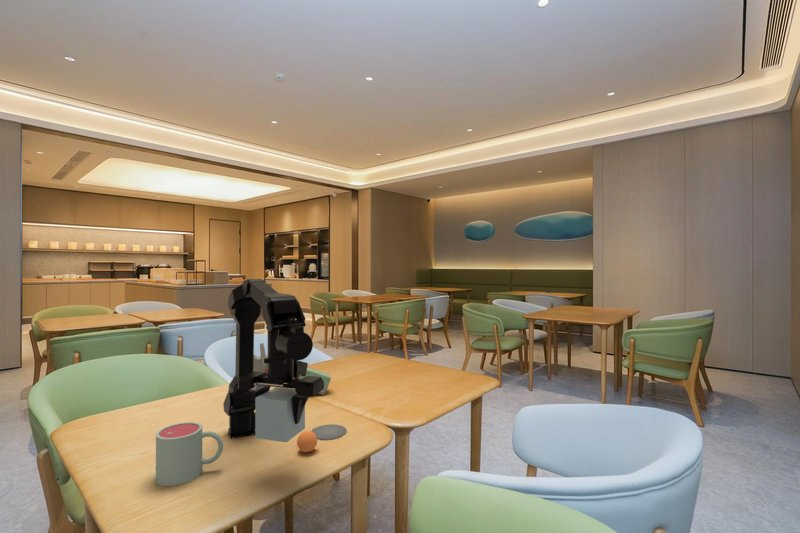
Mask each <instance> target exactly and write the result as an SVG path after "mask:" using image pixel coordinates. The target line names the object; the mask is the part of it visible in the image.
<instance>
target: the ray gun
mask: <svg viewBox="0 0 800 533" xmlns="http://www.w3.org/2000/svg"><path fill="white" fill-rule="evenodd" d="M259 351H260V356H258V355H255V354H254V364H253V371H256V372H266V373H267V375H268V363H264V358H267V357H268V354H267V355H266V349H265V344H264V342H261V343H259ZM307 376H315V377H321V378H322V379H323V381H324V389H323V390H322V391H320V392H319V393H317V394H318V395H320V396H325V395H326V393H327V390H328V388H329V385H330V383H331V379H332V377H331V375H330V374H329V373H328V372H324V371H320V370H318V369H314V368H311V367H308V366H307V372H306V376H301V375H300V377H298V378H294V380H301V379H303V378H305V377H307ZM285 384H288V383H285ZM228 392H229V389H228V390H227V393H228Z"/></svg>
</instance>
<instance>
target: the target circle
mask: <svg viewBox="0 0 800 533" xmlns="http://www.w3.org/2000/svg"><path fill="white" fill-rule="evenodd" d="M311 431H312V432H313V433H315V435H316V437H317V440H320V441H321V440H322V441H330V440H336V438H337V439H340V438H342V437H343V435H344V436H345V435H346V434H347V428H346V427H345V426H342V425H339V424H335V423H333V424H323V425H319V426H316V427H314V428H312V429H311ZM339 437H340V438H339Z"/></svg>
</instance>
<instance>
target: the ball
mask: <svg viewBox="0 0 800 533" xmlns="http://www.w3.org/2000/svg"><path fill="white" fill-rule="evenodd" d="M298 435H299V436H297V440H296V445H297V448H298V449H299V450H300V451H301V452H302V453H310V452H312V451H314V450H315V449H316V447H317V445H318V444H317V443H318V439H317V437H316V435H315V433H313V432H312V430H305V431H301V432H300V433H299V434H298Z"/></svg>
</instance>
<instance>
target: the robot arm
mask: <svg viewBox="0 0 800 533" xmlns="http://www.w3.org/2000/svg"><path fill="white" fill-rule="evenodd" d="M227 299H228V300H227V307H228V309H229V315H230V316H231V317H232V319H233V320H234V322H235V368H234V369H235V374H234V376H233V378H232V380H231V382H230V383H229V384H228V390H229V392H228V391H227V394H226V395H225V398H224V400H223V412H224V413H225V414H226V415H227V416H228V419H229V420H228V429H227V430H228V434H229V437H230V439H235V438H240V437H246V436H250V435H255V398H256V397H258V396H260V395H262V394H264V393H266V392H268V391H270V390H271V387H272V388H275V387H277V388H288V389H295V392H296V393H297V394H296V395H294V396H292V403H293V414H294V421H295V424H298V423H299V421H300V418H301V415H302V412H303V410H304V407H305V408H306V404H307V402H308V400H309V398H310V397H314V396H316V395H317V394H318V393H319V392H320V391H322V390H323V389H324V381H323V379H322V378H321V377H315V376H307V377H305V378H303V379H301V380H294V378H298V377H300V375H301V376H306V372H307V367H308V366H309V365H308V364H309V363H308V362H305V361H303V360H305V359H306V358H307V357H309V356H310V354H311V352H312V351H313V347H314V342H313V341H312V338H311V336H310V335H309V334H308V333H306V332H305V329H304V328H305V327H306V317H305V314H304V312H303V309H302V307H301V305H300V304H301V303H300V301H299V300H298V299H297V297H296V296H295V295H293V294H289V293H280V292H278V291H277V290H275V289H274V288H273V287H272V286H270V285H269V284H267V283H266V280H265V279H262V278H247V279H246V280H245V279H244V280H243V281H242V284H240V285H239V286H237V287H235V288H234V289H232V290H231V292H230V294H229V296H228V298H227ZM261 315H262V316H261ZM260 316H261V317H262V318H263V320H264V322H265V325H266V327H265V328H266V330H267V356H268V357H267V358H264V363H268V375H267V373H266V372H256V371H253V364H254V355H255V350H254V349H255V348H254V347H255V324H256V322H257V321H258V319H259V318H260ZM286 383H288V384H286Z"/></svg>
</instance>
